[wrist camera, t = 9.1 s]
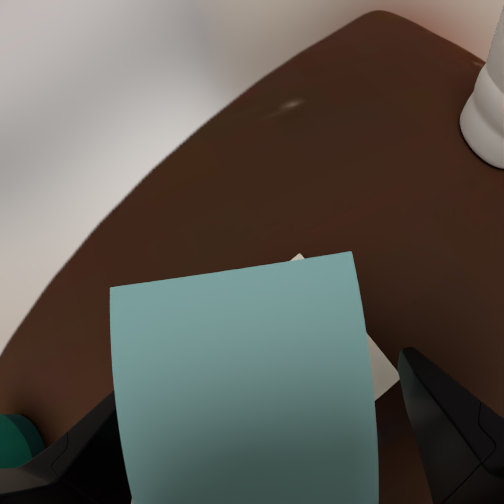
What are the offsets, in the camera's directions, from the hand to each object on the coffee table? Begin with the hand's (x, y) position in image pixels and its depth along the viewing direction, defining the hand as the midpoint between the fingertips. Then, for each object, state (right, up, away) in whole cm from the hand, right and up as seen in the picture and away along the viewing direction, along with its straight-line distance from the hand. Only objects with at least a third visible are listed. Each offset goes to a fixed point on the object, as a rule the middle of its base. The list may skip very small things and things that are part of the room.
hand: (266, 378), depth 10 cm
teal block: (+1, -3, +8) cm, 8 cm away
